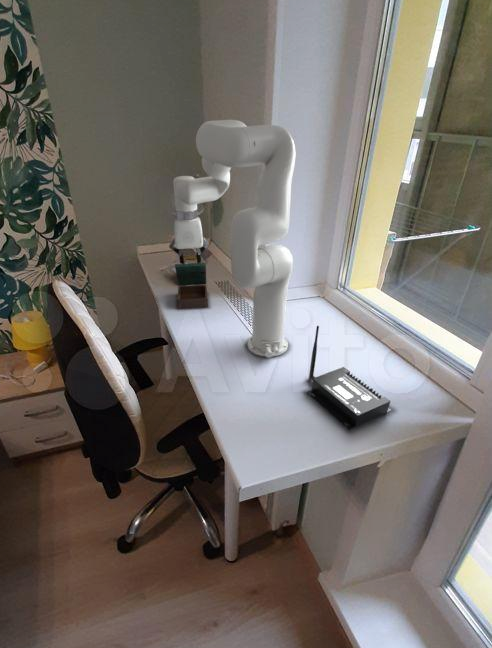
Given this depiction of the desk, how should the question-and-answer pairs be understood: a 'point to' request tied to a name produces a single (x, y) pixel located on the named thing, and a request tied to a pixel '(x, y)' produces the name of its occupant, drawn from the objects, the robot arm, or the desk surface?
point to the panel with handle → (191, 272)
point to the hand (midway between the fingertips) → (190, 264)
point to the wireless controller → (345, 395)
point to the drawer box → (192, 297)
